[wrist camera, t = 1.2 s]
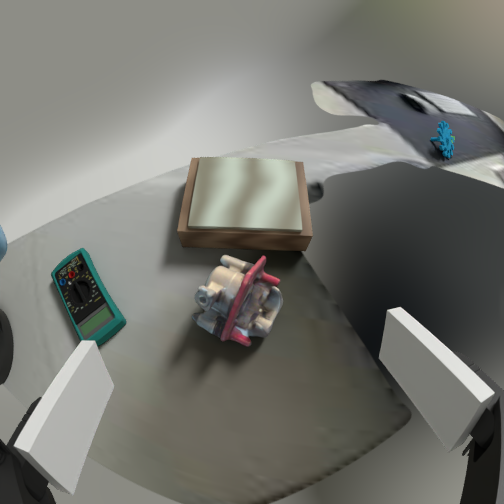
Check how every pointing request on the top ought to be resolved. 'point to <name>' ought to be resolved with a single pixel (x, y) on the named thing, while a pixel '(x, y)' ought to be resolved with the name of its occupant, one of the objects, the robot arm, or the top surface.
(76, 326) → the digital multimeter
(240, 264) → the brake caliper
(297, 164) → the walnut stand
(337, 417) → the top surface
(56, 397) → the robot arm
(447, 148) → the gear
